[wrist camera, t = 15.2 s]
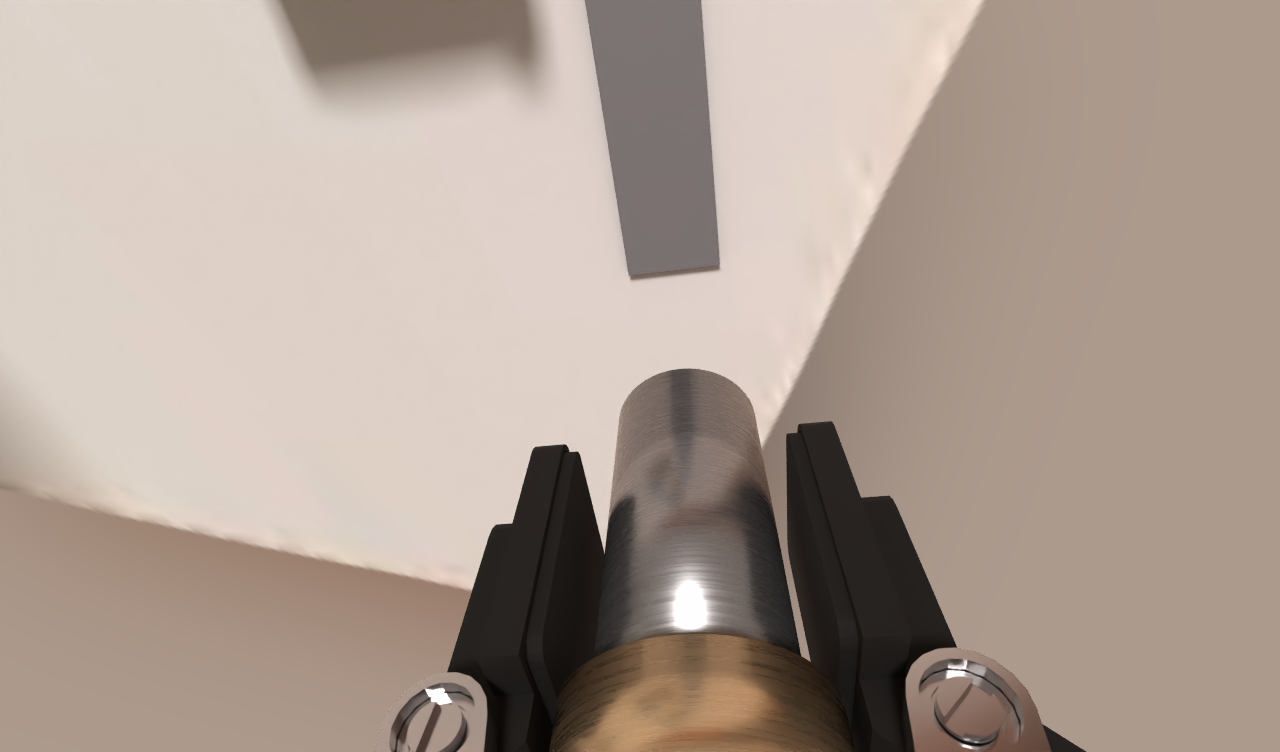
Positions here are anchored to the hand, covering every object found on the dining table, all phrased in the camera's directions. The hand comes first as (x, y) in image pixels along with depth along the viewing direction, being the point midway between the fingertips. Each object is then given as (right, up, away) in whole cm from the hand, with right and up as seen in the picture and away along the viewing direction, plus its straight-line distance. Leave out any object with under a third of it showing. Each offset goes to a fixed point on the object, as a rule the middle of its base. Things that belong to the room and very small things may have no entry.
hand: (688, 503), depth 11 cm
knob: (0, +1, +2) cm, 2 cm away
